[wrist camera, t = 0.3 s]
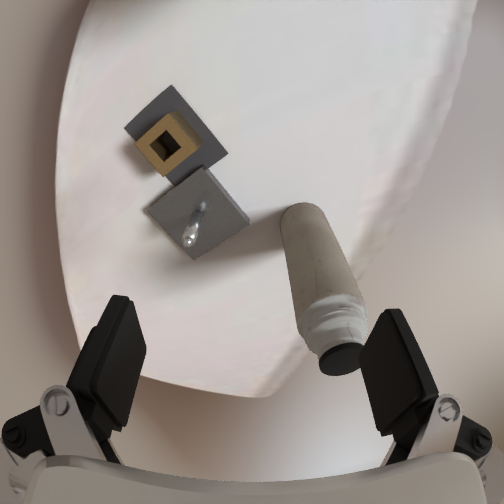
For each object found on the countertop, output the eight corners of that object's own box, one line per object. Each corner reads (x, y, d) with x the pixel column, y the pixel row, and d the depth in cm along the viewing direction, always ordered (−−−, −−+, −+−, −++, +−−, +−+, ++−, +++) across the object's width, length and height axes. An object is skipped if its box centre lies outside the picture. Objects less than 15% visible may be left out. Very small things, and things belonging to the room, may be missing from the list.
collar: (146, 137, 38) (134, 143, 34) (177, 110, 36) (167, 113, 32) (172, 167, 41) (163, 177, 37) (203, 141, 39) (197, 149, 35)
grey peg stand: (150, 206, 45) (130, 235, 37) (203, 163, 41) (191, 185, 33) (195, 253, 51) (185, 290, 42) (249, 219, 47) (248, 252, 38)
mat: (125, 127, 37) (124, 127, 37) (171, 84, 34) (171, 84, 34) (179, 190, 44) (179, 190, 44) (228, 153, 41) (228, 153, 40)
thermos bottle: (312, 249, 50) (352, 387, 27) (272, 235, 49) (289, 381, 25) (333, 212, 46) (399, 345, 23) (291, 195, 44) (333, 332, 21)
